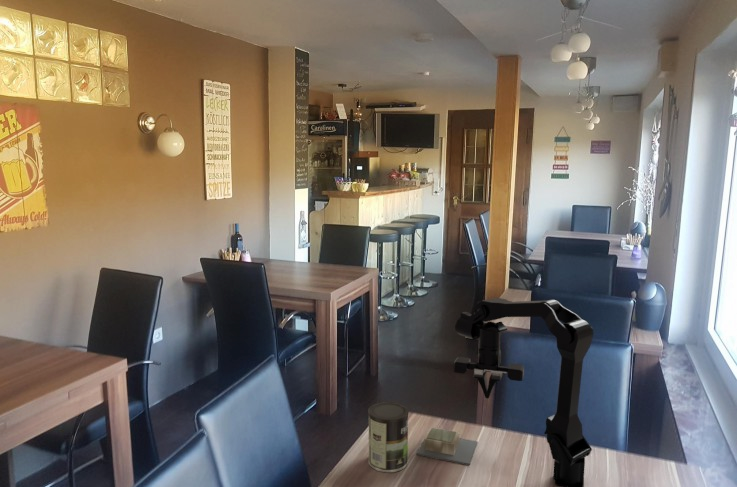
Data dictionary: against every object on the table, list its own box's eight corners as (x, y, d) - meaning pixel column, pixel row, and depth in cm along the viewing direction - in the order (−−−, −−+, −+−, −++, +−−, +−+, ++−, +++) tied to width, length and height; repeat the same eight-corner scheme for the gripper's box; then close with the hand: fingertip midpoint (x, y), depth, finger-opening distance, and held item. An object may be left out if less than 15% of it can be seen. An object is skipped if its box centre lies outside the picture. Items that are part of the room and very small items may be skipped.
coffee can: (410, 453, 144) (410, 403, 142) (404, 475, 134) (405, 421, 132) (372, 449, 146) (372, 400, 144) (364, 470, 136) (364, 417, 134)
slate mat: (477, 443, 149) (477, 441, 149) (469, 465, 138) (469, 463, 138) (428, 434, 154) (428, 432, 154) (416, 454, 143) (416, 452, 143)
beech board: (459, 431, 148) (431, 426, 151) (454, 443, 141) (424, 438, 144) (459, 442, 148) (431, 437, 151) (453, 455, 142) (424, 449, 145)
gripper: (526, 339, 152) (524, 391, 154) (460, 331, 159) (459, 382, 161) (523, 351, 142) (521, 407, 144) (453, 343, 148) (451, 397, 150)
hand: (487, 397), depth 150 cm, fingers closed
